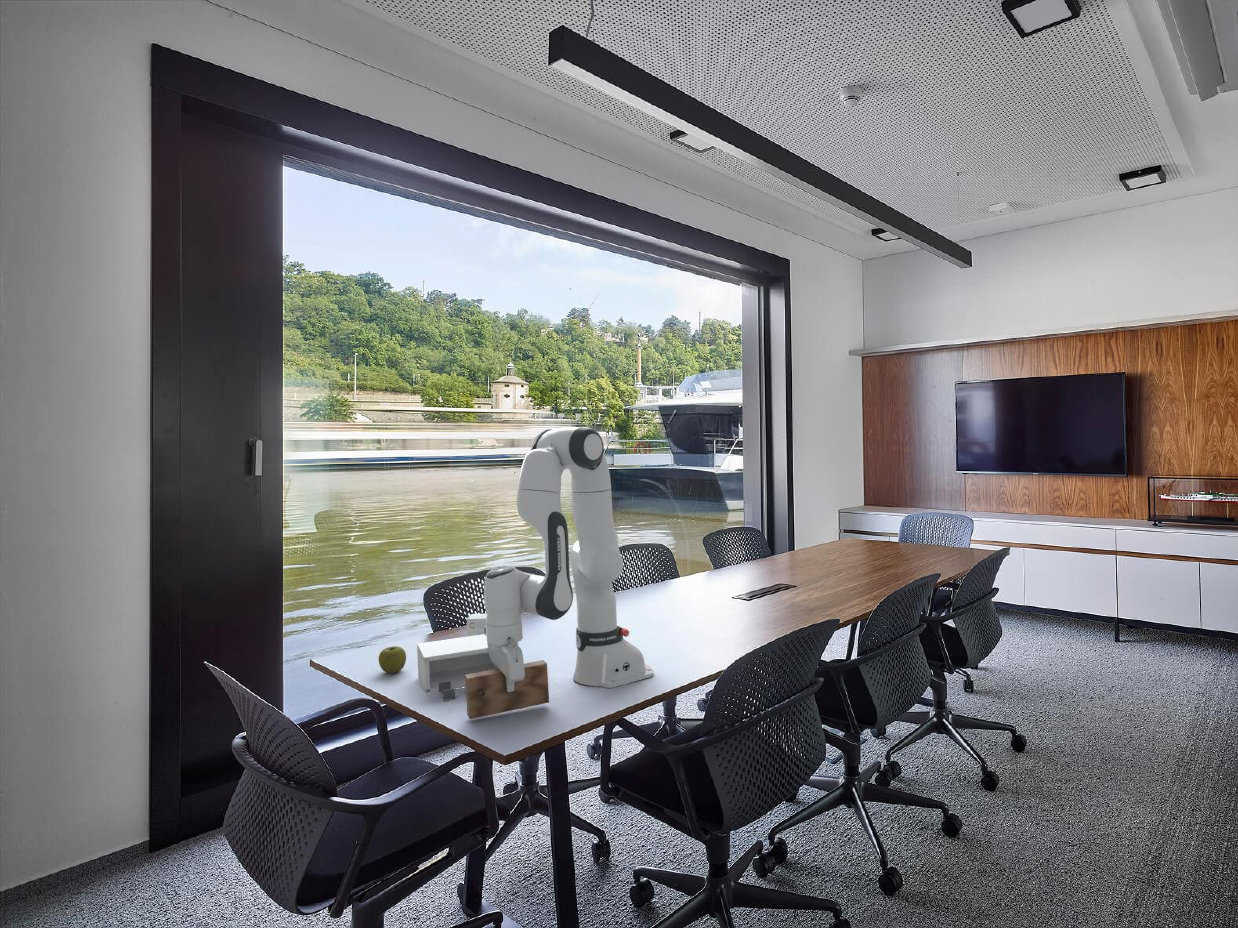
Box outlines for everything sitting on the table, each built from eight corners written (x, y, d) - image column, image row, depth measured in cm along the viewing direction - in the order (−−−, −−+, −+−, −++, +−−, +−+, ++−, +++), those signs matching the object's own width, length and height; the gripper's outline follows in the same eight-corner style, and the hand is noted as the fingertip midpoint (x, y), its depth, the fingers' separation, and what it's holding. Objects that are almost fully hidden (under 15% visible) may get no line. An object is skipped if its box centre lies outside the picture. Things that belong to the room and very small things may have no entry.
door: (545, 698, 180) (543, 660, 180) (550, 703, 177) (548, 664, 176) (467, 715, 172) (464, 674, 171) (470, 720, 169) (468, 679, 168)
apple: (373, 675, 205) (372, 651, 205) (391, 666, 213) (390, 643, 213) (394, 678, 203) (393, 653, 202) (412, 669, 210) (411, 645, 210)
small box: (498, 653, 223) (496, 612, 222) (494, 660, 216) (492, 618, 216) (472, 654, 223) (470, 613, 222) (467, 660, 216) (466, 618, 216)
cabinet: (494, 666, 211) (492, 632, 210) (512, 688, 192) (511, 652, 191) (418, 678, 202) (417, 643, 202) (429, 702, 183) (428, 664, 183)
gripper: (529, 641, 166) (532, 699, 166) (505, 621, 184) (508, 673, 185) (503, 646, 163) (506, 705, 164) (482, 625, 182) (485, 678, 182)
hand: (507, 688), depth 174 cm, fingers closed on door, 3 cm apart
